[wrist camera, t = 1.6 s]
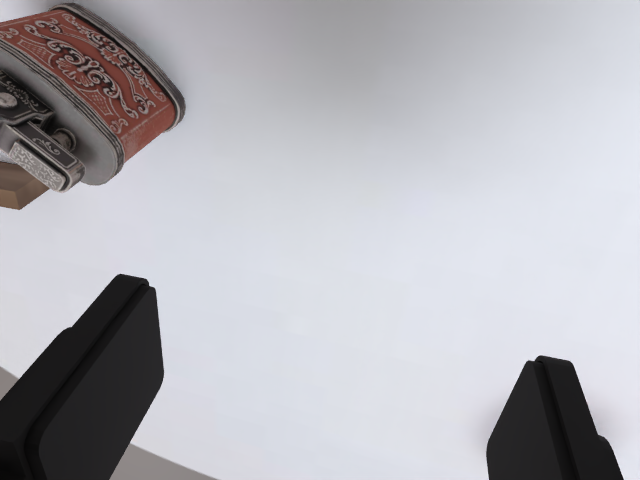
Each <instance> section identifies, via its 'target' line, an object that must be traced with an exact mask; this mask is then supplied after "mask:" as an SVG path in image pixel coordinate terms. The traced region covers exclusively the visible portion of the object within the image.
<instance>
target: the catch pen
mask: <svg viewBox="0 0 640 480" xmlns="http://www.w3.org/2000/svg"><path fill="white" fill-rule="evenodd" d="M49 189H50V188H49V187H48V186H46V185H45V184H44V183H42V182H41V181H40V180H38V179H37V178H36V177H34V176H33V175H32V174H30V173H29V172H28V171H26V170H25V169H24V168H22V167H21V166H20V165H16V164H10V163H4V162H0V206H1V207H6V208H12V209H17V210H20V209H22V208H23V207H25V206H26V205H27V204H29V203H30V202H32V201H33V200H34V199H36V198H37V197H39V196H40V195H41V194H43V193H44V192H46V191H47V190H49Z"/></svg>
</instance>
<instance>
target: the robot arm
mask: <svg viewBox="0 0 640 480" xmlns="http://www.w3.org/2000/svg"><path fill="white" fill-rule="evenodd" d="M163 377H164V367H163V357H162V347H161V337H160V327H159V317H158V307H157V297H156V290H155V288H154V287H150V286H149V282H148V281H147V279H144V278H139V277H134V276H129V275H124V274H119V275H117V276H116V277H115V278H114V279H113V280H112V281H111V282H110V283H109V284H108V286H107V287H106V288H105V289H104V290H103V291H102V293H101V294H100V295H99V296H98V297H97V298H96V300H95V301H94V302H93V303H92V304H91V305H90V307H89V308H88V309H87V310H86V311H85V312H84V314H83V315H82V316H81V317H80V318H79V319H78V320H77V322H76V323H75V324H74V325H73V326H72V327H69V328H67V329H65V330H63V331H62V332H61V333H60V334H59V335H58V336H57V337H56V338H55V339H54V340H53V341H52V342H51V344H50V345H49V346H48V347H47V348H46V349H45V350H44V352H43V353H42V354H41V355H40V356H39V357H38V358H37V359H36V361H35V362H34V363H33V364H32V365H31V366H30V367H29V369H28V370H27V371H26V372H25V373H24V374H23V375H22V377H21V378H20V379H19V380H18V381H17V382H16V383H15V385H14V386H13V387H12V388H11V389H10V390H9V391H8V393H7V394H6V395H5V396H4V397H3V398H2V399H1V401H0V480H109V479H110V477H111V475H112V474H113V472H114V470H115V468H116V466H117V465H118V463H119V461H120V459H121V457H122V456H123V454H124V452H125V450H126V448H127V447H128V445H129V443H130V441H131V439H132V438H133V436H134V434H135V432H136V430H137V429H138V427H139V425H140V423H141V422H142V420H143V418H144V416H145V414H146V413H147V411H148V409H149V407H150V405H151V404H152V402H153V400H154V398H155V396H156V395H157V393H158V391H159V389H160V387H161V384H162V381H163ZM486 457H487V466H488V474H489V480H624V479H623V476H622V474H621V471H620V468H619V466H618V463H617V460H616V457H615V455H614V452H613V450H612V448H611V446H610V444H609V442H608V441H607V440H606V439H605V438H604V437H603V436H600V435H598V434H597V431H596V428H595V425H594V422H593V419H592V417H591V414H590V411H589V408H588V405H587V402H586V399H585V397H584V394H583V391H582V388H581V385H580V382H579V380H578V377H577V374H576V371H575V368H574V366H573V364H572V363H571V362H570V361H567V360H562V359H557V358H552V357H547V356H538V357H537V358H536V360H535V361H527V362H526V364H525V365H524V367H523V369H522V372H521V374H520V376H519V378H518V380H517V382H516V384H515V386H514V388H513V390H512V392H511V394H510V397H509V399H508V401H507V403H506V405H505V407H504V409H503V411H502V413H501V415H500V417H499V419H498V422H497V424H496V426H495V428H494V430H493V432H492V434H491V436H490V438H489V441H488V444H487V451H486Z"/></svg>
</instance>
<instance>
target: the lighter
mask: <svg viewBox="0 0 640 480" xmlns="http://www.w3.org/2000/svg"><path fill="white" fill-rule="evenodd" d="M185 108H186V106H185V101H184V98H183V96H182V95H181V93H180V91H179V90H178V89H177V88H176V87H175V85H174V84H173V83H172V82H171V81H170V80H169V78H168V77H167V76H166V75H165V74H164V72H163V71H162V70H161V69H160V68H159V67H158V66H157V65H156V64H155V63H154V62H153V61H152V60H151V59H150V58H149V57H148V56H147V55H146V54H145V53H144V52H143V51H142V50H141V49H140V48H139V47H138V46H137V45H136V44H135V43H133V42H132V41H131V40H130V39H128V38H127V37H126V36H124V35H123V34H122V33H121V32H119V31H118V30H117V29H116V28H114V27H113V26H112V25H110V24H109V23H108V22H106V21H104V20H103V19H101V18H100V17H98V16H97V15H95V14H93V13H92V12H90V11H89V10H87V9H86V8H84V7H82V6H80V5H78V4H75V3H65V4H60V5H56V6H54V7H52V8H50V9H49V10H48V11H47V12H44V13H40V14H36V15H31V16H27V17H22V18H18V19H14V20H9V21H5V22H1V23H0V150H1V151H3V152H4V153H5V154H7V155H8V157H9V158H10V159H12V160H13V161H14V162H16V163H17V164H18V165H20V166H21V167H22V168H24V169H25V170H26V171H28V172H29V173H30V174H32V175H33V176H34V177H36V178H37V179H38V180H40V181H41V182H42V183H44V184H45V185H46V186H48V187H49V188H50V189H52V190H54V191H57V192H60V193H64V192H66V191H67V190H69V189H70V188H71V187H73V186H74V185H75V184H77V183H78V182H79V181H81V182H83V183H85V184H88V185H101V184H104V183H107V182H108V181H109V180H110V179H112V178H113V177H114V176H115V175H116V174H117V173H119V172H120V171H121V169H122V167H123V165H124V163H125V162H126V161H127V160H129V159H130V158H131V157H132V156H134V155H135V154H136V153H137V152H139V151H140V150H141V149H142V148H144V147H145V146H146V145H147V144H149V143H150V142H151V141H152V140H153V139H155V138H156V137H157V136H158V135H160V134H161V133H165V132H168V131H170V130H171V129H173V128H174V127H175V126H176V125H177V124H178V123H180V122H181V121H182V119H183V117H184V115H185Z"/></svg>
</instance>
